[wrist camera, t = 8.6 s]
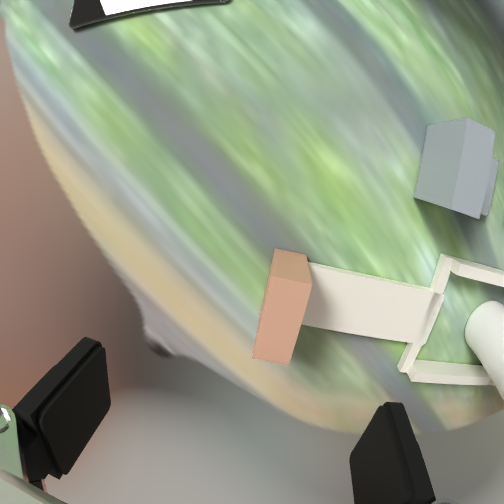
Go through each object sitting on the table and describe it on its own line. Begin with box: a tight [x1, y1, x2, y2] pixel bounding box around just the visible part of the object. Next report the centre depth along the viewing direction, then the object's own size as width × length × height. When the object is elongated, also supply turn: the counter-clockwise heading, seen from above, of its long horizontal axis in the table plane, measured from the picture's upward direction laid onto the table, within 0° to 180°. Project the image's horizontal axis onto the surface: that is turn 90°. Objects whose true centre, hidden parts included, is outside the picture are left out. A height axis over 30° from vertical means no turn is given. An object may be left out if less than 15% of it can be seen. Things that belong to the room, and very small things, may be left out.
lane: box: [252, 248, 504, 385], centre depth 22 cm, size 11×26×6 cm, turn 79°
